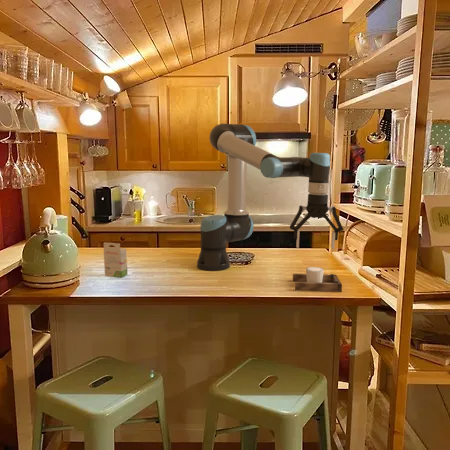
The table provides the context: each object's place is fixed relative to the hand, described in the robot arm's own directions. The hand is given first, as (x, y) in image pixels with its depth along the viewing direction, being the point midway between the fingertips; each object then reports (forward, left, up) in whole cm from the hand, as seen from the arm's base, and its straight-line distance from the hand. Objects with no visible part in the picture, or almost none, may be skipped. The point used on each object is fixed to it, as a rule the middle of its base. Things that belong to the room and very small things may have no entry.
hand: (315, 247), depth 166 cm
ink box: (-83, +7, -16) cm, 85 cm away
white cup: (0, 0, -16) cm, 16 cm away
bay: (0, 0, -16) cm, 15 cm away
